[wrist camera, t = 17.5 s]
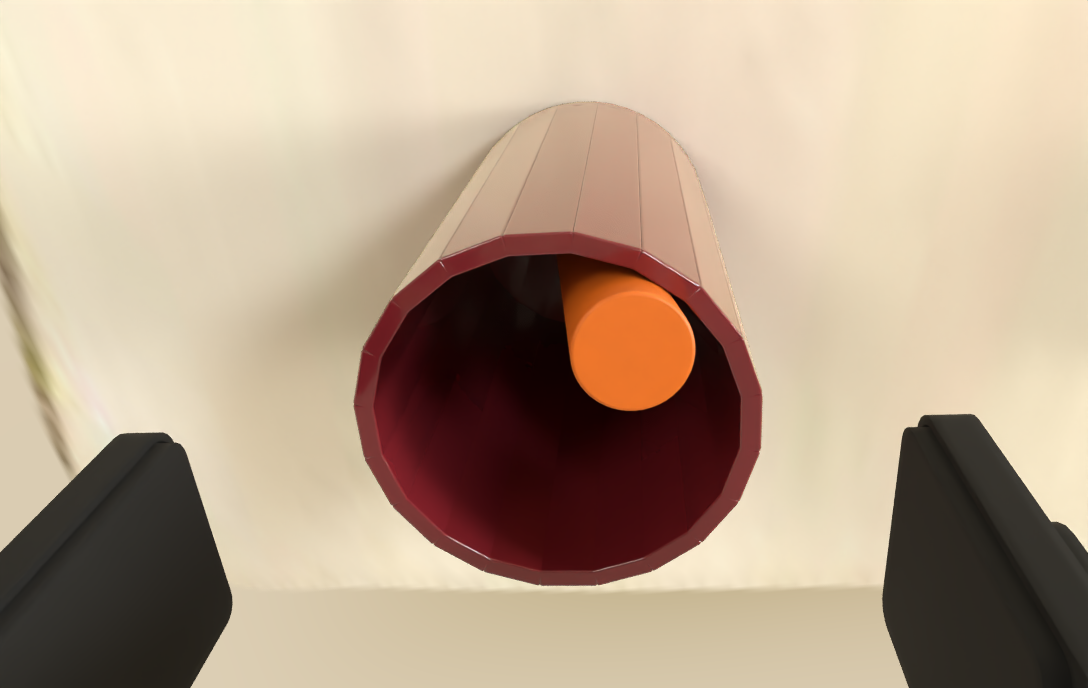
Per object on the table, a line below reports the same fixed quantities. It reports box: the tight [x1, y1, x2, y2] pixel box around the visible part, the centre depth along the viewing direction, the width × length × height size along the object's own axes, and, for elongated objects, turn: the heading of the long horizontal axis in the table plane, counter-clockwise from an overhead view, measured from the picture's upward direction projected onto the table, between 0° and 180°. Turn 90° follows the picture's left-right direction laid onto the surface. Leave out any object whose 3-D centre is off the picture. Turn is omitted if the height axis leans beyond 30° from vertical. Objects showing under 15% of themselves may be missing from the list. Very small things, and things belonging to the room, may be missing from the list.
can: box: [354, 102, 763, 586], centre depth 19 cm, size 7×7×12 cm
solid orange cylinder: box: [556, 253, 695, 411], centre depth 18 cm, size 2×2×12 cm
